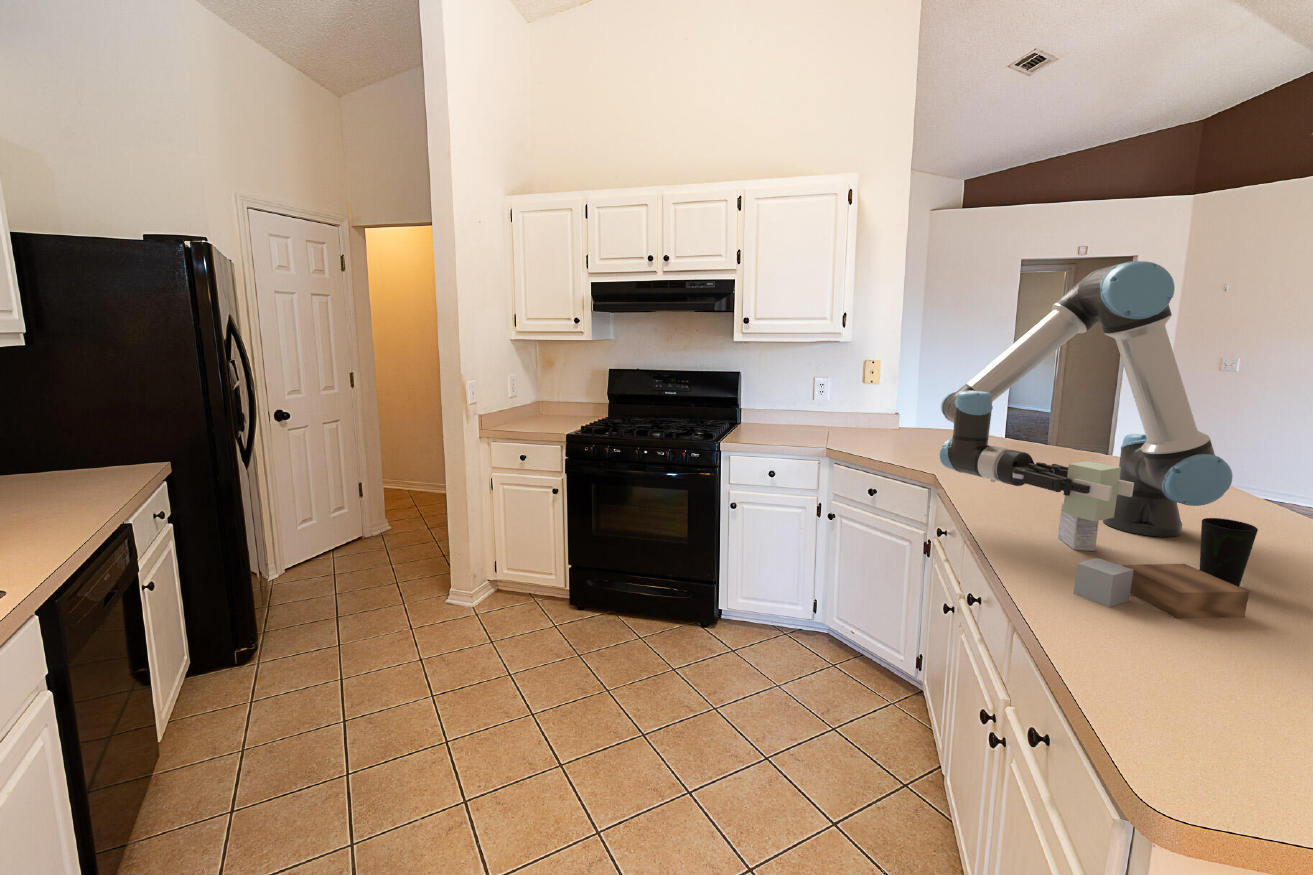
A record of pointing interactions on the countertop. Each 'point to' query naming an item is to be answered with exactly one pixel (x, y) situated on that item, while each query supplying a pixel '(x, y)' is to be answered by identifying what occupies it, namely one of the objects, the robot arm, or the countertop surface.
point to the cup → (1226, 548)
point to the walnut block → (1187, 591)
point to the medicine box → (1078, 532)
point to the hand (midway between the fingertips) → (1120, 491)
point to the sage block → (1089, 505)
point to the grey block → (1103, 582)
